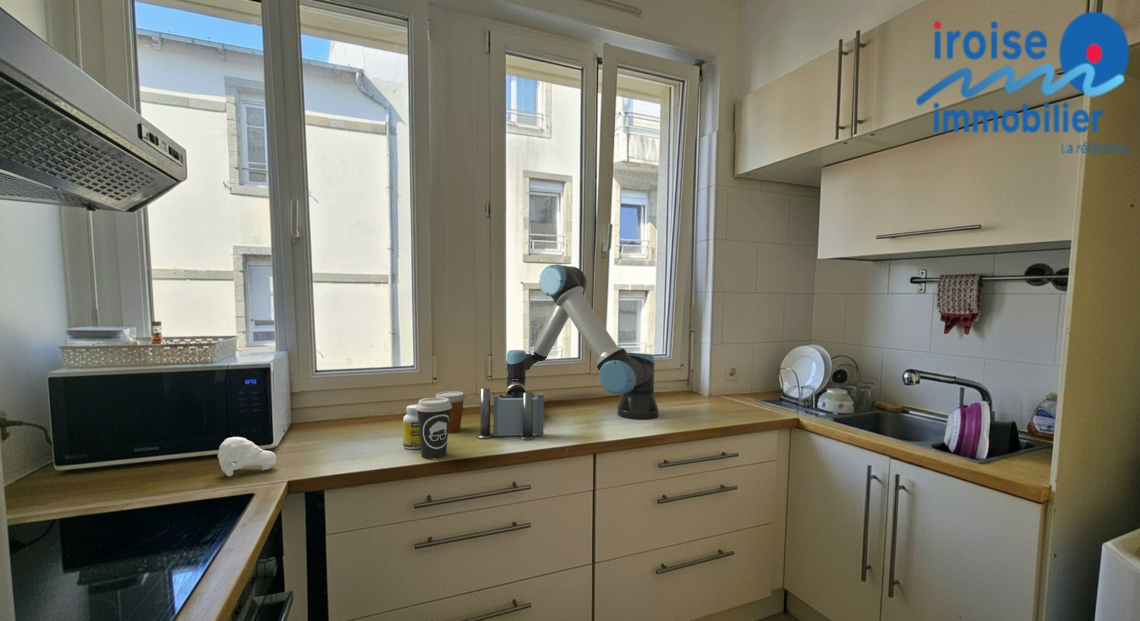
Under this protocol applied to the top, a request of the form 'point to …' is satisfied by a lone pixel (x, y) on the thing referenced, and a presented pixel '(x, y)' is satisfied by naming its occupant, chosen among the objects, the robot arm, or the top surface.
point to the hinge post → (485, 415)
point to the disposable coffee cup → (454, 408)
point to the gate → (516, 415)
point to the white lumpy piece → (243, 455)
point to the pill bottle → (411, 428)
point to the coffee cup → (433, 426)
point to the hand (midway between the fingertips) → (517, 408)
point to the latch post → (527, 416)
